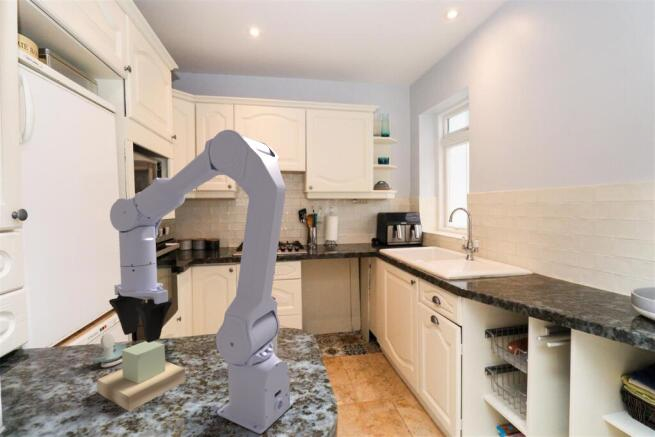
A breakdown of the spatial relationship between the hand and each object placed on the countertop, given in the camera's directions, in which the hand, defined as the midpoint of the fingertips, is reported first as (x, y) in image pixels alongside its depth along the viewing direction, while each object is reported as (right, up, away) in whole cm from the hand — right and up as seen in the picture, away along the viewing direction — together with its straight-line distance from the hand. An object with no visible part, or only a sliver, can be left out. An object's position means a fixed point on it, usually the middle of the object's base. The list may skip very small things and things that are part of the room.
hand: (141, 336), depth 56 cm
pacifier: (-13, -10, +11) cm, 20 cm away
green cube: (+1, -7, 0) cm, 7 cm away
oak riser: (0, -10, 0) cm, 10 cm away
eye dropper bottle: (+21, -9, +11) cm, 25 cm away
